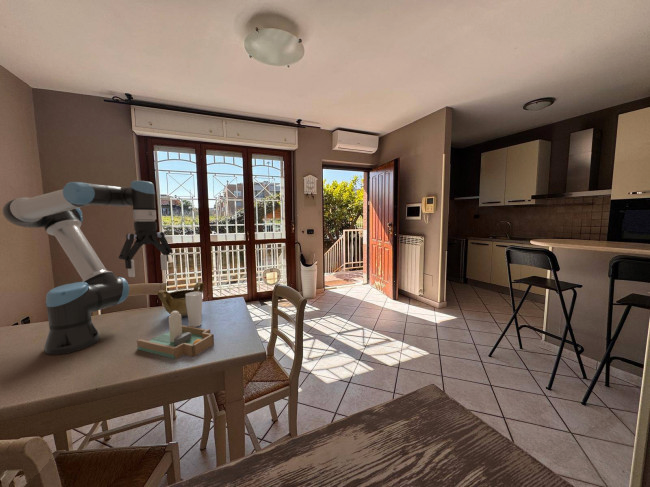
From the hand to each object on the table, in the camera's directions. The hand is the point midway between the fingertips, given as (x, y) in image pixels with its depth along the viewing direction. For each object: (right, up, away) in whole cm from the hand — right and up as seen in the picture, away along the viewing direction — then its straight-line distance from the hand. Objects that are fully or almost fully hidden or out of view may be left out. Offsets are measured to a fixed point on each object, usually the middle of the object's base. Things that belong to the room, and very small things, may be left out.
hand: (149, 273), depth 105 cm
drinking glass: (+12, -26, +13) cm, 31 cm away
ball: (+24, -26, -8) cm, 36 cm away
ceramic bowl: (0, -24, +26) cm, 36 cm away
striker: (+15, -26, -5) cm, 30 cm away
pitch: (+15, -27, -5) cm, 32 cm away
